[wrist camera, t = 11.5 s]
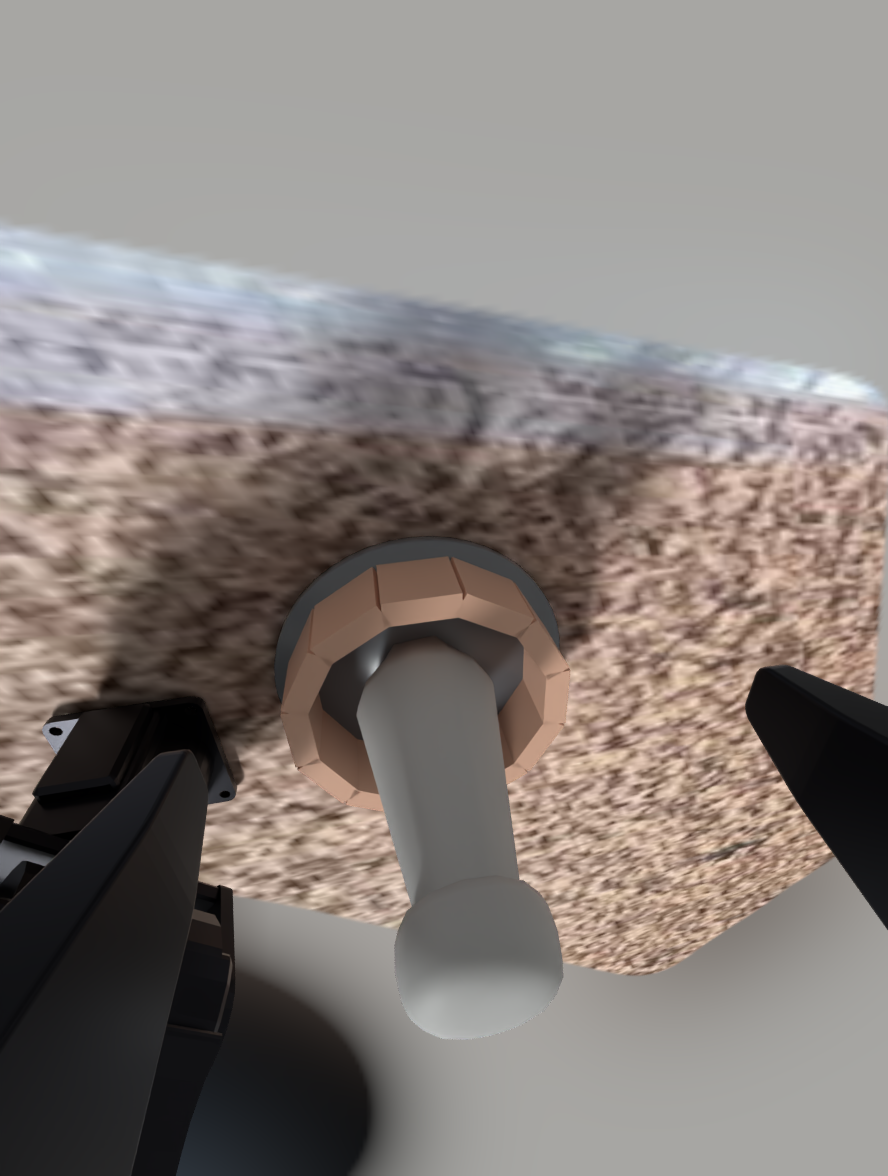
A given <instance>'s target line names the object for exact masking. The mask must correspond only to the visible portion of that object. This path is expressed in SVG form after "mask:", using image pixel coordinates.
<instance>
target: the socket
mask: <svg viewBox="0 0 888 1176" xmlns="http://www.w3.org/2000/svg"><path fill="white" fill-rule="evenodd" d="M429 636H436V637H437V638H439V639H440V640H442V641H443V642H445V643H446V644H448V645H450V646H452V647H453V648H455V649H457V650H459V651H461V652H463V653H465V654H467V655H469V656H471V657H473V658H474V660H475V661H476V662H477V663H478V664H479V665H480V666H481V667H482V669H483V670H484V671H485V672H486V673H487V674H488V675H489V677H490V679H491V680H492V682H493V685H494V692H495V700H496V707H497V715H498V722H499V730H500V738H501V745H502V753H503V760H504V768H505V775H506V783H507V784H509V783H511V782H513V781H514V780H516V779H518V778H520V777H521V776H523V775H525V774H527V770H529V771H530V770H531V769H532V768H533V766H534V765H535V764H536V762H537V761H538V760H539V758H540V757H541V756H542V754H543V753H544V752H545V751H546V749H547V748H548V747H549V745H550V744H551V743H552V741H553V740H554V739H555V737H556V736H557V735H558V733H559V732H560V731H561V729H562V728H563V727H564V724H563V723H566V712H567V701H568V690H569V679H570V669H569V666H568V664H567V662H566V661H565V659H564V657H563V656H562V654H561V652H560V651H559V633H558V627H557V622H556V619H555V616H554V613H553V610H552V608H551V606H550V604H549V603H548V601H547V599H546V597H545V595H544V594H543V592H542V591H541V589H540V588H539V587H538V585H537V584H536V583H535V581H534V580H533V579H532V578H531V576H530V575H529V574H527V573H526V572H525V571H524V570H523V569H522V568H521V567H520V566H519V565H518V564H516V563H515V562H513V561H512V560H510V559H509V558H507V557H506V556H504V555H502V554H500V553H498V552H496V551H494V550H492V549H490V548H488V547H485V546H482V545H479V544H476V543H473V542H470V541H465V540H460V539H455V538H449V537H434V536H426V537H409V538H403V539H398V540H392V541H387V542H384V543H381V544H377V545H374V546H371V547H368V548H366V549H363V550H361V551H359V552H356V553H354V554H352V555H350V556H348V557H346V558H345V559H343V560H341V561H340V562H338V563H336V564H335V565H333V566H331V567H330V568H329V569H327V570H326V571H325V572H324V573H322V574H321V575H320V576H319V577H317V578H316V579H315V580H314V581H313V582H312V583H311V584H310V585H309V586H308V587H307V588H306V589H305V590H304V591H303V593H302V594H301V595H300V597H299V598H298V599H297V601H296V602H295V604H294V605H293V606H292V608H291V610H290V612H289V614H288V616H287V618H286V620H285V621H284V624H283V627H282V630H281V633H280V636H279V639H278V644H277V649H276V656H275V662H274V670H275V683H276V688H277V693H278V696H279V699H280V702H281V704H282V706H281V714H280V715H281V719H282V722H283V726H284V729H285V732H286V736H287V739H288V743H289V746H290V750H291V753H292V757H293V760H294V763H295V767H298V771H300V772H301V773H302V774H304V775H305V776H306V777H308V778H309V779H310V780H312V781H313V782H314V783H316V784H317V785H318V786H320V787H321V788H323V789H324V790H325V791H327V792H328V793H329V794H331V795H332V796H333V797H335V798H336V799H337V800H339V801H340V802H341V803H344V802H346V805H350V806H355V807H361V808H366V809H372V810H377V811H383V812H384V809H383V805H382V802H381V798H380V795H379V792H378V788H377V785H376V781H375V778H374V774H373V771H372V767H371V764H370V760H369V757H368V754H367V750H366V747H365V743H364V740H363V736H362V733H361V729H360V726H359V723H358V719H357V716H356V714H357V710H358V705H359V702H360V699H361V696H362V692H363V689H364V686H365V683H366V681H367V680H368V679H369V677H370V676H371V675H372V674H373V673H374V672H375V671H376V669H377V668H378V667H379V666H380V665H381V664H382V662H383V661H384V660H385V658H386V657H387V655H388V653H389V652H390V650H391V648H392V647H393V645H394V644H399V643H403V642H407V641H412V640H416V639H421V638H425V637H429Z"/></svg>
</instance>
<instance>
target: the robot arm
mask: <svg viewBox="0 0 888 1176" xmlns="http://www.w3.org/2000/svg"><path fill="white" fill-rule="evenodd" d="M189 707H194V708H196V709H190V708H189ZM745 710H746V715H747V717H748V719H749V721H750V723H751V725H752V726H753V728H754V730H755V732H756V733H757V735H758V737H759V738H760V740H761V742H762V744H763V745H764V747H765V749H766V750H767V752H768V754H769V756H770V757H771V759H772V761H773V762H774V764H775V766H776V768H777V769H778V771H779V773H780V774H781V776H782V778H783V780H784V781H785V783H786V785H787V786H788V788H789V790H790V791H791V793H792V795H793V796H794V798H795V800H796V801H797V803H798V804H799V806H800V807H801V809H802V810H803V812H804V813H805V814H806V816H807V817H808V819H809V820H810V822H811V823H812V824H813V826H814V827H815V829H816V830H817V831H818V833H819V834H820V836H821V837H822V838H823V840H824V841H825V843H826V844H827V846H828V847H829V848H830V850H831V851H832V853H833V854H834V855H835V857H836V858H837V860H838V861H839V862H840V864H841V865H842V866H843V868H844V869H845V871H846V872H847V873H848V875H849V876H850V878H851V879H852V881H853V882H854V883H855V885H856V886H857V888H858V889H859V890H860V892H861V893H862V895H863V896H864V897H865V899H866V900H867V902H868V903H869V905H870V906H871V907H872V909H873V910H874V912H875V913H876V914H877V916H878V917H879V918H880V920H881V921H882V923H883V924H884V925H885V927H886V928H887V930H888V706H885V705H883V704H880V703H878V702H876V701H873V700H871V699H868V698H866V697H864V696H861V695H859V694H856V693H854V692H852V691H849V690H847V689H844V688H842V687H840V686H837V685H835V684H832V683H830V682H828V681H825V680H823V679H820V678H818V677H815V676H813V675H811V674H808V673H806V672H803V671H801V670H799V669H796V668H794V667H791V666H789V665H775V666H768V667H763V668H760V669H759V670H758V671H757V673H756V675H755V678H754V680H753V683H752V686H751V689H750V692H749V695H748V698H747V700H746V704H745ZM56 727H58V728H60V729H58V728H56ZM42 731H43V734H44V736H45V737H46V739H47V740H48V742H49V744H50V745H51V747H52V748H53V750H54V752H55V753H56V755H55V757H54V759H53V760H52V762H51V763H50V765H49V767H48V768H47V770H46V771H45V773H44V774H43V776H42V778H41V779H40V781H39V782H38V784H37V785H36V787H35V789H34V790H33V793H32V794H33V796H34V797H35V799H34V800H33V802H32V804H31V805H30V807H29V808H28V810H27V812H26V813H25V815H24V816H23V818H22V820H21V821H20V823H19V824H17V823H14V819H11V818H8V817H5V816H2V815H0V1176H176V1172H177V1168H178V1164H179V1161H180V1157H181V1153H182V1149H183V1146H184V1142H185V1138H186V1135H187V1131H188V1128H189V1124H190V1121H191V1118H192V1115H193V1113H194V1110H195V1107H196V1104H197V1101H198V1098H199V1095H200V1093H201V1090H202V1087H203V1084H204V1081H205V1079H206V1077H207V1075H208V1072H209V1070H210V1069H211V1067H212V1065H213V1063H214V1060H215V1058H216V1056H217V1054H218V1051H219V1049H220V1047H221V1044H222V1041H223V1038H224V1036H225V1033H226V1030H227V1027H228V1023H229V1019H230V1015H231V1011H232V1006H233V1000H234V994H235V956H234V924H233V890H232V889H231V888H228V887H225V886H221V885H218V886H217V887H216V886H213V885H210V884H206V883H203V882H200V881H198V876H199V869H200V861H201V853H202V845H203V837H204V830H205V822H206V814H207V806H208V804H213V803H219V802H225V801H229V800H232V799H233V798H234V797H235V796H236V791H237V785H236V782H235V780H234V777H233V774H232V772H231V769H230V767H229V764H228V761H227V759H226V756H225V754H224V751H223V749H222V746H221V743H220V741H219V738H218V736H217V733H216V730H215V728H214V725H213V723H212V720H211V717H210V715H209V712H208V710H207V707H206V704H205V702H204V701H203V700H202V699H200V698H198V697H183V698H177V699H170V700H163V701H156V702H149V703H142V704H135V705H129V706H122V707H115V708H108V709H101V710H94V711H87V712H81V713H74V714H67V715H60V716H54V717H51V718H50V719H49V720H48V721H47V722H46V723H45V725H44V726H43V729H42Z"/></svg>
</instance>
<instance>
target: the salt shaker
mask: <svg viewBox="0 0 888 1176" xmlns="http://www.w3.org/2000/svg"><path fill="white" fill-rule="evenodd" d="M356 716H357V719H358V723H359V726H360V729H361V733H362V736H363V740H364V743H365V747H366V750H367V754H368V757H369V760H370V764H371V767H372V771H373V774H374V778H375V781H376V785H377V788H378V792H379V795H380V798H381V802H382V805H383V809H384V812H385V816H386V819H387V823H388V826H389V830H390V833H391V836H392V840H393V843H394V847H395V850H396V854H397V857H398V861H399V864H400V868H401V871H402V874H403V878H404V881H405V885H406V888H407V892H408V895H409V899H410V902H411V905H412V907H411V908H410V909H409V910H408V911H407V912H406V914H405V916H404V918H403V921H402V923H401V925H400V927H399V929H398V933H397V937H396V941H395V976H396V980H397V984H398V989H399V993H400V998H401V1002H402V1005H403V1007H404V1009H405V1011H406V1013H407V1015H408V1017H409V1019H410V1020H412V1021H413V1022H414V1023H415V1024H416V1025H417V1026H419V1027H420V1028H421V1029H422V1030H423V1031H425V1032H427V1033H429V1034H432V1035H434V1036H437V1037H439V1038H441V1039H466V1040H468V1039H475V1038H480V1037H486V1036H490V1035H496V1034H499V1033H502V1032H504V1031H507V1030H510V1029H513V1028H515V1027H518V1026H520V1025H522V1024H524V1023H526V1022H527V1021H529V1020H530V1019H532V1018H533V1017H535V1016H537V1015H538V1014H540V1013H541V1012H543V1011H544V1010H545V1009H546V1008H547V1007H548V1005H549V1004H550V1003H551V1001H552V1000H553V998H554V997H555V995H556V994H557V991H558V989H559V986H560V984H561V981H562V978H563V961H562V954H561V948H560V942H559V936H558V931H557V927H556V925H555V922H554V919H553V917H552V914H551V912H550V909H549V906H548V904H547V903H546V901H545V900H544V898H543V897H542V895H541V894H540V893H539V892H538V891H536V890H535V889H534V888H533V887H531V886H530V885H529V884H527V883H526V882H525V881H523V880H519V873H518V865H517V858H516V850H515V843H514V835H513V828H512V820H511V813H510V805H509V798H508V790H507V783H506V775H505V768H504V760H503V753H502V745H501V738H500V730H499V722H498V715H497V707H496V700H495V692H494V685H493V682H492V680H491V679H490V677H489V675H488V674H487V673H486V672H485V671H484V670H483V669H482V667H481V666H480V665H479V664H478V663H477V662H476V661H475V660H474V658H473V657H471V656H469V655H467V654H465V653H463V652H461V651H459V650H457V649H455V648H453V647H452V646H450V645H448V644H446V643H445V642H443V641H442V640H440V639H439V638H437V637H436V636H429V637H425V638H421V639H416V640H412V641H407V642H403V643H399V644H394V645H393V647H392V648H391V650H390V652H389V653H388V655H387V657H386V658H385V660H384V661H383V662H382V664H381V665H380V666H379V667H378V668H377V669H376V671H375V672H374V673H373V674H372V675H371V676H370V677H369V679H368V680H367V681H366V683H365V686H364V689H363V692H362V696H361V699H360V702H359V705H358V710H357V714H356Z"/></svg>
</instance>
